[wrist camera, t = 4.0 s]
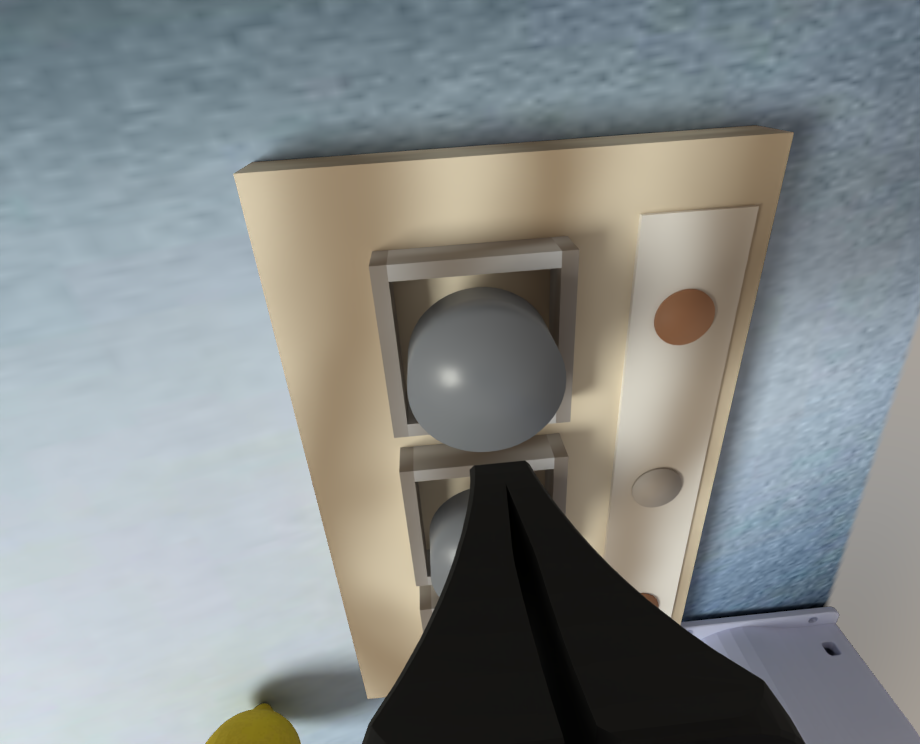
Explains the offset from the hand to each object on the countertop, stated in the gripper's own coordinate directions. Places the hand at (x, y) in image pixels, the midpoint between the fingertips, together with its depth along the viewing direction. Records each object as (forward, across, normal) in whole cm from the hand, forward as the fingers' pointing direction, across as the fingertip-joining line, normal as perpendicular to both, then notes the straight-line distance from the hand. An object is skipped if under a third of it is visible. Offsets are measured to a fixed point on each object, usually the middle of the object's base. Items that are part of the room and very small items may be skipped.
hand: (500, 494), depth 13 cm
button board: (+8, -2, +6) cm, 11 cm away
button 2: (+5, 0, -1) cm, 5 cm away
